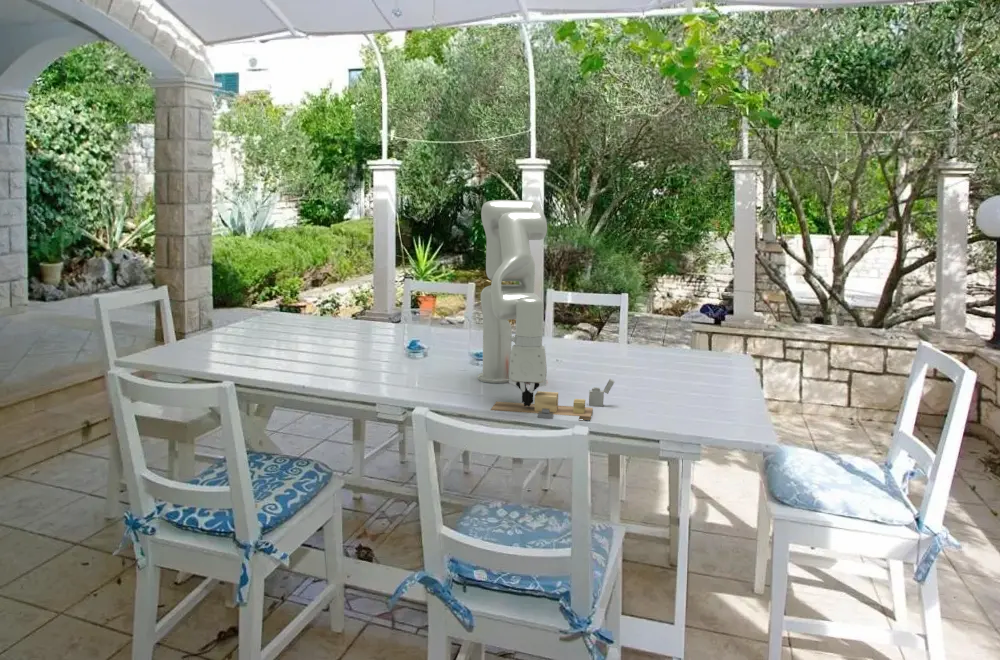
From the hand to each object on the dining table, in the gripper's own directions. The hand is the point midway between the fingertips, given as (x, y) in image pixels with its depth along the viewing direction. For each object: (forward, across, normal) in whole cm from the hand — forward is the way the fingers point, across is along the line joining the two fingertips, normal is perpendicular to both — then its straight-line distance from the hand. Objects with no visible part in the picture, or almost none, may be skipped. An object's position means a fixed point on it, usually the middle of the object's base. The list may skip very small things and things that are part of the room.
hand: (527, 404), depth 210 cm
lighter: (+2, +20, +12) cm, 24 cm away
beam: (+2, +4, 0) cm, 5 cm away
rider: (+1, +5, 0) cm, 5 cm away
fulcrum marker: (+2, +6, -7) cm, 10 cm away
